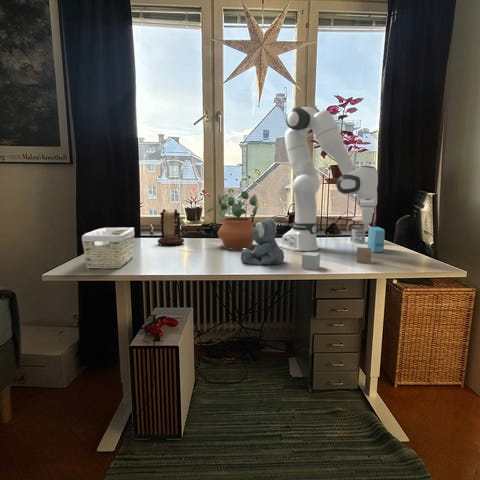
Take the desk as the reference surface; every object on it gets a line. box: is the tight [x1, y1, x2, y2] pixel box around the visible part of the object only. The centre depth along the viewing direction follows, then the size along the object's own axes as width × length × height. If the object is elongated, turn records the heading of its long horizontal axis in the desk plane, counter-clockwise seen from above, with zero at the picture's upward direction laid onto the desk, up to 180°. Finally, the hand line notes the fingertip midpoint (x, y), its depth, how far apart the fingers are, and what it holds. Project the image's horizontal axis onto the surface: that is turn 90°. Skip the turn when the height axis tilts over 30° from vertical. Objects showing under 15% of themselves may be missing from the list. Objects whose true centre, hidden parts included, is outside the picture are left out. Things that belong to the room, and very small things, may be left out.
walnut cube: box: [355, 246, 373, 265], centre depth 158 cm, size 6×6×6 cm
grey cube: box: [301, 251, 321, 271], centre depth 148 cm, size 6×6×6 cm
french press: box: [346, 211, 368, 245], centre depth 202 cm, size 10×12×25 cm
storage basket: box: [81, 227, 135, 269], centre depth 154 cm, size 24×16×15 cm
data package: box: [367, 226, 386, 254], centre depth 181 cm, size 12×4×12 cm, turn 176°
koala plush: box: [240, 217, 285, 266], centre depth 157 cm, size 17×18×20 cm
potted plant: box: [206, 191, 259, 250], centre depth 190 cm, size 23×28×30 cm
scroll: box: [157, 208, 185, 246], centre depth 198 cm, size 15×15×20 cm
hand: (365, 230), depth 165 cm, fingers closed
